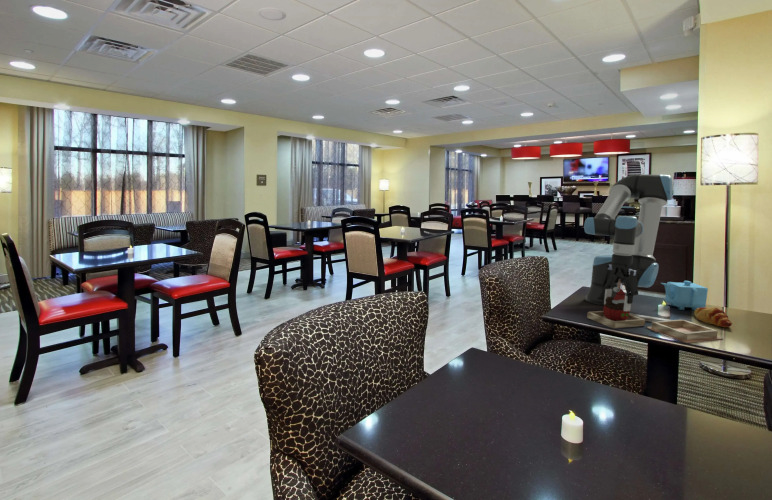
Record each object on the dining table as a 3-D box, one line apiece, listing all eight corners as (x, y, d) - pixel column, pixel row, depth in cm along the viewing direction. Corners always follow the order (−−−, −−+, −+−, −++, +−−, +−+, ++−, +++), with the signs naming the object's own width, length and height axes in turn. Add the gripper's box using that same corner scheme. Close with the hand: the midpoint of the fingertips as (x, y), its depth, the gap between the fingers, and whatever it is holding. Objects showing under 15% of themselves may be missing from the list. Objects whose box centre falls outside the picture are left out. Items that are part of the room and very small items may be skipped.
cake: (617, 317, 184) (621, 276, 181) (634, 324, 175) (639, 281, 172) (596, 318, 181) (600, 277, 178) (612, 325, 172) (617, 282, 170)
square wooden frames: (587, 317, 182) (587, 311, 182) (645, 313, 191) (646, 307, 191) (656, 346, 151) (657, 338, 150) (722, 339, 160) (723, 331, 159)
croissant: (687, 321, 193) (681, 306, 192) (709, 312, 192) (702, 296, 191) (722, 337, 172) (714, 319, 171) (746, 326, 171) (739, 309, 170)
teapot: (687, 304, 210) (691, 278, 208) (708, 313, 195) (712, 285, 193) (649, 301, 212) (652, 276, 210) (666, 310, 197) (670, 283, 195)
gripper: (594, 250, 183) (589, 300, 186) (638, 258, 162) (631, 315, 166) (608, 249, 185) (603, 300, 189) (653, 258, 164) (646, 314, 168)
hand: (616, 307), depth 177 cm, fingers closed on cake, 9 cm apart
